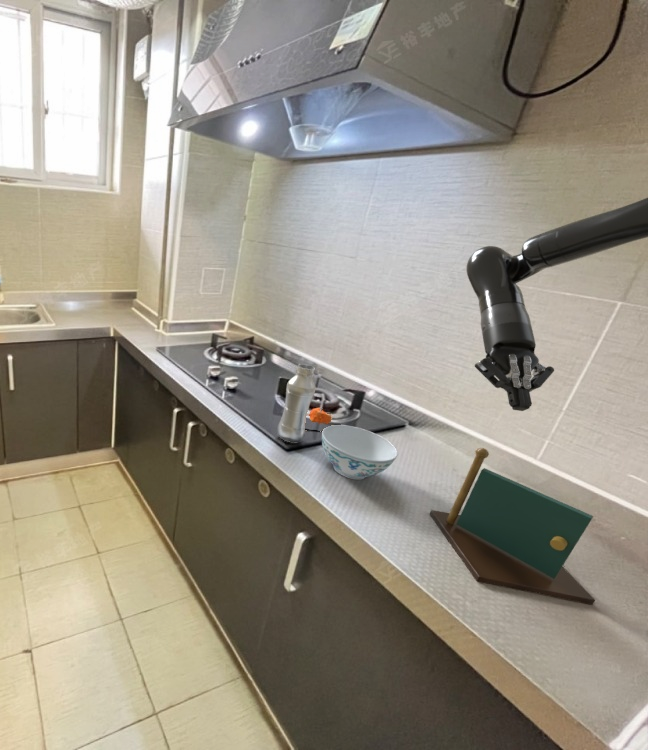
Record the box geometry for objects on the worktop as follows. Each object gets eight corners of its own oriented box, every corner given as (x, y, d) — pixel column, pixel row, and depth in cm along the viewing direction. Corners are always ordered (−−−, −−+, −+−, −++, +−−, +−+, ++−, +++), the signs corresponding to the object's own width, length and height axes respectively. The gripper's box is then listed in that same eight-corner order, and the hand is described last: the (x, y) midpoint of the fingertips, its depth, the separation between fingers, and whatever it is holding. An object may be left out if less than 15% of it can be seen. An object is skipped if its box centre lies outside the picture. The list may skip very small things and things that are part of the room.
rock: (329, 413, 117) (333, 400, 115) (348, 434, 105) (353, 420, 104) (290, 410, 116) (293, 397, 115) (305, 430, 105) (308, 416, 103)
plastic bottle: (302, 449, 96) (322, 373, 88) (274, 442, 98) (291, 368, 90) (302, 437, 101) (321, 365, 94) (275, 431, 103) (291, 360, 96)
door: (556, 576, 62) (593, 516, 58) (551, 583, 61) (589, 522, 56) (458, 522, 72) (484, 467, 68) (452, 527, 71) (478, 472, 67)
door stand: (520, 530, 74) (562, 453, 68) (592, 605, 59) (654, 515, 53) (429, 513, 76) (461, 438, 70) (476, 581, 62) (523, 493, 56)
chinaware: (309, 447, 97) (316, 420, 94) (373, 458, 94) (383, 431, 91) (321, 484, 83) (330, 453, 80) (397, 498, 80) (409, 466, 78)
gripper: (483, 316, 77) (496, 396, 71) (558, 324, 75) (580, 408, 69) (458, 335, 84) (469, 410, 77) (527, 343, 82) (544, 421, 75)
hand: (521, 409), depth 73 cm, fingers closed
